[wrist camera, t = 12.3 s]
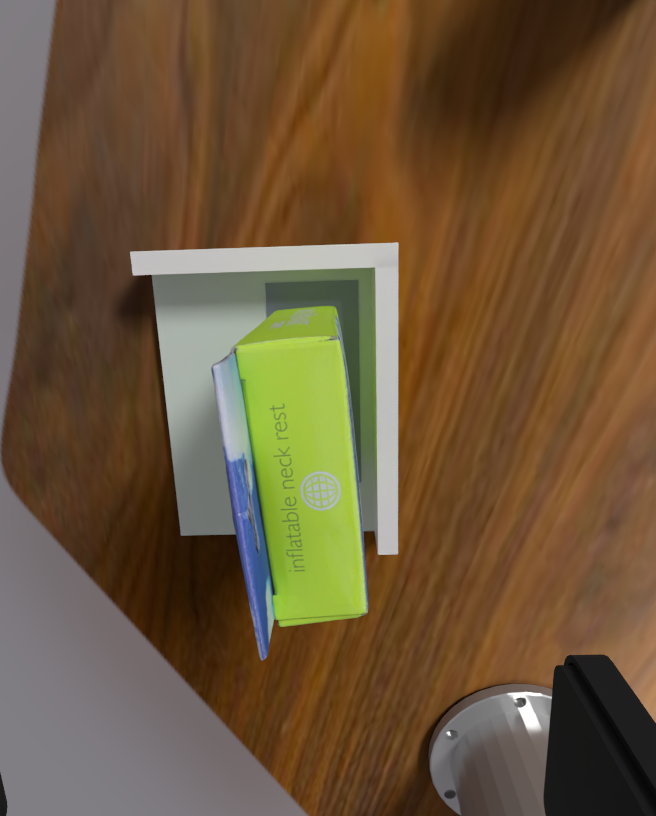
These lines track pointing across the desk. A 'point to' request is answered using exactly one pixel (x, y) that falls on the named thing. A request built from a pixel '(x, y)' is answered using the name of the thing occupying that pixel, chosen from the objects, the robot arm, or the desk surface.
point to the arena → (239, 315)
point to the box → (293, 470)
